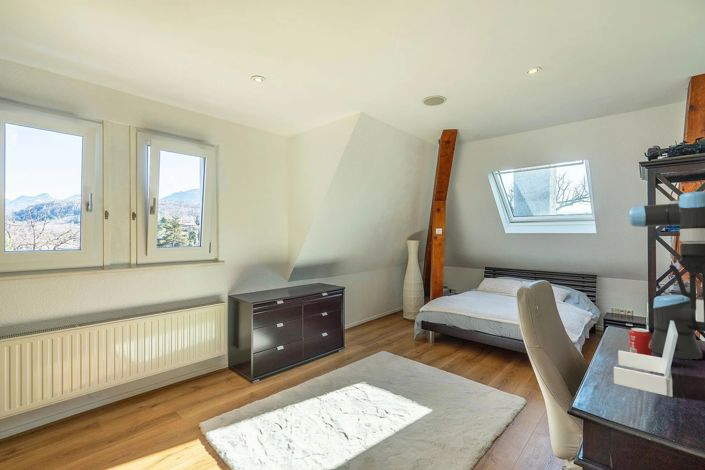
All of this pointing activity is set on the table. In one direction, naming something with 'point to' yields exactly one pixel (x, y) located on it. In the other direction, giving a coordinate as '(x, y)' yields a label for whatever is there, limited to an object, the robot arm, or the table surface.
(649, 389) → the white flat pieces
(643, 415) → the table surface
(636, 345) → the beverage can
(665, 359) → the lid
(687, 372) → the table surface
